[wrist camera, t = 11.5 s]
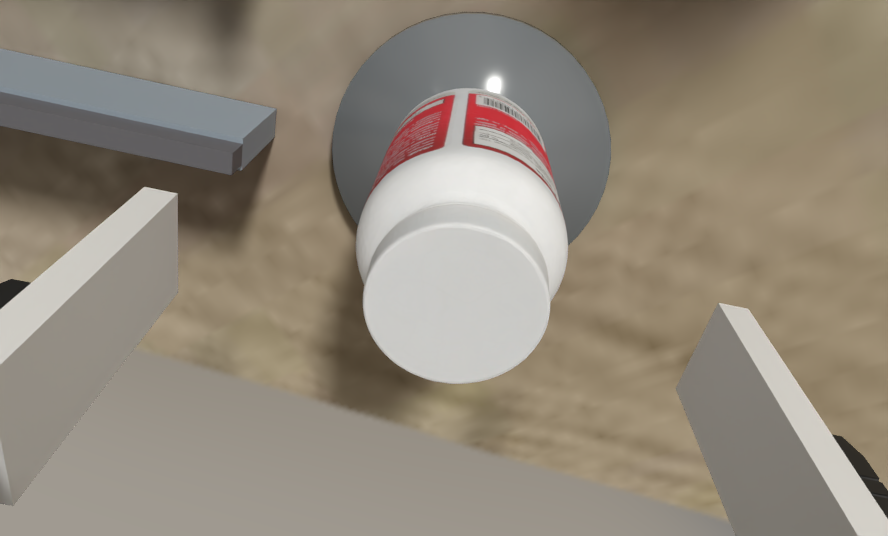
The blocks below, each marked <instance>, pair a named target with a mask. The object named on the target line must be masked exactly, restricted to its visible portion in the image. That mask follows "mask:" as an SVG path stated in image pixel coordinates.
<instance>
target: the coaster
mask: <svg viewBox="0 0 888 536" xmlns="http://www.w3.org/2000/svg"><path fill="white" fill-rule="evenodd" d="M459 88H476V89H483V90H488V91H491V92H494V93H497V94H499V95H502V96H504V97H506V98H507V99H509V100H511V101H512V102H514V103H515V104H517V105H518V106H519V107H520V108H521V109H523V110H524V111H525V112H526V113H527V115H528V116H529V117H530V118H531V120H532V121H533V122H534V124H535V125H536V127H537V129H538V131H539V133H540V135H541V137H542V140H543V143H544V146H545V149H546V153H547V156H548V160H549V164H550V167H551V171H552V175H553V179H554V183H555V186H556V190H557V194H558V198H559V202H560V205H561V209H562V213H563V216H564V220H565V224H566V231H567V239H568V245H569V244H570V243H571V242H572V241H573V240H574V239H575V238H576V237H577V236H578V235H579V234H580V233H581V231H582V230H583V229H584V227H585V226H586V225H587V224H588V222H589V220H590V219H591V217H592V215H593V214H594V212H595V210H596V209H597V207H598V204H599V202H600V200H601V197H602V195H603V192H604V189H605V186H606V182H607V178H608V175H609V167H610V160H611V138H610V131H609V124H608V119H607V116H606V113H605V109H604V106H603V103H602V101H601V98H600V96H599V94H598V92H597V90H596V87H595V86H594V84H593V83H592V81H591V79H590V78H589V76H588V75H587V73H586V72H585V70H584V68H583V67H582V66H581V64H580V63H579V62H578V61H577V60H576V59H575V57H574V56H573V55H572V54H571V53H570V52H569V51H568V50H567V49H566V48H565V47H563V46H562V45H561V44H560V43H559V42H558V41H557V40H555V39H554V38H552V37H551V36H549V35H548V34H546V33H545V32H543V31H542V30H540V29H538V28H536V27H534V26H532V25H529V24H527V23H525V22H523V21H520V20H517V19H514V18H510V17H507V16H504V15H498V14H492V13H485V12H460V13H452V14H445V15H441V16H437V17H434V18H430V19H426V20H424V21H421V22H419V23H417V24H414V25H412V26H410V27H408V28H406V29H404V30H403V31H401V32H399V33H398V34H396V35H395V36H393V37H391V38H390V39H389V40H388V41H387V42H385V43H384V44H383V45H382V46H380V47H379V48H378V49H377V50H376V51H375V52H374V53H373V54H372V55H371V56H370V58H369V59H368V60H367V61H366V62H365V63H364V64H363V65H362V66H361V68H360V69H359V71H358V72H357V73H356V75H355V76H354V78H353V79H352V81H351V82H350V84H349V86H348V88H347V90H346V92H345V94H344V96H343V98H342V101H341V104H340V107H339V110H338V112H337V115H336V121H335V126H334V131H333V145H332V154H333V167H334V172H335V176H336V181H337V185H338V188H339V191H340V194H341V196H342V199H343V201H344V203H345V205H346V207H347V209H348V211H349V213H350V215H351V217H352V218H353V220H354V221H355V222H356V224H357V225H358V224H359V220H360V217H361V214H362V211H363V208H364V205H365V203H366V201H367V198H368V196H369V193H370V191H371V189H372V186H373V184H374V182H375V179H376V177H377V174H378V172H379V169H380V167H381V165H382V162H383V160H384V157H385V155H386V152H387V150H388V148H389V145H390V143H391V141H392V138H393V136H394V134H395V132H396V131H397V129H398V127H399V126H400V124H401V122H402V121H403V120H404V118H405V117H406V116H407V115H408V114H409V113H410V111H411V110H413V109H414V108H415V107H416V106H417V105H418V104H420V103H421V102H423V101H424V100H426V99H428V98H430V97H432V96H434V95H436V94H438V93H441V92H444V91H448V90H452V89H459Z"/></svg>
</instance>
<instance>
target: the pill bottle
mask: <svg viewBox="0 0 888 536" xmlns="http://www.w3.org/2000/svg"><path fill="white" fill-rule="evenodd" d="M567 256H568V239H567V231H566V224H565V220H564V216H563V213H562V209H561V205H560V202H559V198H558V194H557V190H556V186H555V183H554V179H553V175H552V171H551V167H550V164H549V160H548V156H547V153H546V149H545V146H544V143H543V140H542V137H541V135H540V133H539V131H538V129H537V127H536V125H535V124H534V122H533V121H532V120H531V118H530V117H529V116H528V115H527V113H526V112H525V111H524V110H523V109H521V108H520V107H519V106H518V105H517V104H515V103H514V102H512V101H511V100H509V99H507V98H506V97H504V96H502V95H499V94H497V93H494V92H491V91H488V90H483V89H476V88H459V89H452V90H448V91H444V92H441V93H438V94H436V95H434V96H432V97H430V98H428V99H426V100H424V101H423V102H421V103H420V104H418V105H417V106H416V107H415V108H414V109H413V110H411V111H410V113H409V114H408V115H407V116H406V117H405V118H404V120H403V121H402V122H401V124H400V126H399V127H398V129H397V131H396V132H395V134H394V136H393V138H392V141H391V143H390V145H389V148H388V150H387V152H386V155H385V157H384V160H383V162H382V165H381V167H380V169H379V172H378V174H377V177H376V179H375V182H374V184H373V186H372V189H371V191H370V193H369V196H368V198H367V201H366V203H365V205H364V208H363V211H362V214H361V217H360V220H359V224H358V228H357V235H356V257H357V263H358V268H359V272H360V275H361V278H362V281H363V283H364V290H363V312H364V317H365V321H366V324H367V327H368V330H369V332H370V334H371V336H372V338H373V339H374V341H375V342H376V344H377V345H378V347H379V348H380V349H381V350H382V352H383V353H384V354H385V355H386V356H387V357H388V358H389V359H391V360H392V361H393V362H394V363H395V364H397V365H398V366H400V367H401V368H403V369H405V370H406V371H408V372H410V373H412V374H414V375H417V376H419V377H422V378H425V379H427V380H431V381H435V382H443V383H450V384H463V383H474V382H479V381H484V380H487V379H491V378H494V377H496V376H499V375H501V374H503V373H505V372H507V371H509V370H511V369H512V368H514V367H515V366H517V365H518V364H519V363H521V362H522V361H523V360H525V359H526V358H527V356H528V355H529V354H530V353H531V352H532V351H533V350H534V349H535V347H536V346H537V344H538V343H539V342H540V340H541V338H542V336H543V334H544V332H545V330H546V327H547V324H548V319H549V314H550V302H551V300H552V299H553V297H554V296H555V294H556V292H557V290H558V289H559V286H560V284H561V281H562V279H563V276H564V272H565V268H566V264H567Z"/></svg>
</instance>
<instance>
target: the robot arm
mask: <svg viewBox="0 0 888 536" xmlns="http://www.w3.org/2000/svg"><path fill="white" fill-rule="evenodd" d="M177 293H178V193H173V192H168V191H163V190H158V189H153V188H148V187H144V188H142V189H141V190H140V191H139V192H138V193H137V194H135V195H134V196H133V197H132V198H131V199H129V200H128V201H127V202H126V203H125V204H124V205H122V206H121V207H120V208H119V209H118V210H117V211H115V212H114V213H113V214H112V215H111V216H109V217H108V218H107V219H106V220H105V221H104V222H102V223H101V224H100V225H99V226H98V227H97V228H95V229H94V230H93V231H92V232H91V233H89V234H88V235H87V236H86V237H85V238H84V239H82V240H81V241H80V242H79V243H78V244H77V245H75V246H74V247H73V248H72V249H71V250H69V251H68V252H67V253H66V254H65V255H64V256H62V257H61V258H60V259H59V260H58V261H57V262H55V263H54V264H53V265H52V266H51V267H49V268H48V269H47V270H46V271H45V272H44V273H42V274H41V275H40V276H39V277H38V278H37V279H35V280H34V281H33V282H32V283H29V282H24V281H19V280H14V279H10V280H8V281H5V282H3V283H0V504H6V505H12V506H13V505H14V504H15V503H16V502H17V500H18V499H19V498H20V496H21V495H22V494H23V493H24V491H25V490H26V489H27V487H28V486H29V485H30V484H31V482H32V481H33V479H34V478H35V477H36V476H37V474H38V473H39V472H40V471H41V469H42V468H43V467H44V465H45V464H46V463H47V462H48V460H49V459H50V458H51V456H52V455H53V454H54V452H55V451H56V450H57V449H58V447H59V446H60V445H61V443H62V442H63V441H64V439H65V438H66V437H67V435H68V434H69V433H70V431H71V430H72V429H73V428H74V426H75V425H76V424H77V423H78V421H79V420H80V419H81V417H82V416H83V415H84V413H85V412H86V411H87V410H88V408H89V407H90V406H91V404H92V403H93V402H94V401H95V399H96V398H97V397H98V395H99V394H100V393H101V391H102V390H103V389H104V388H105V386H106V385H107V384H108V382H109V381H110V380H111V379H112V377H113V376H114V374H115V373H116V372H117V371H118V369H119V368H120V367H121V366H122V364H123V363H124V362H125V360H126V359H127V358H128V356H129V355H130V354H131V353H132V351H133V350H134V349H135V347H136V346H137V345H138V344H139V342H140V341H141V340H142V338H143V337H144V336H145V335H146V333H147V332H148V331H149V329H150V328H151V327H152V325H153V324H154V323H155V322H156V320H157V319H158V318H159V316H160V315H161V314H162V312H163V311H164V310H165V309H166V307H167V306H168V305H169V303H170V302H171V301H172V300H173V298H174V297H175V296H176V294H177ZM676 390H677V393H678V395H679V398H680V400H681V403H682V405H683V407H684V410H685V412H686V415H687V417H688V420H689V422H690V425H691V427H692V430H693V432H694V435H695V437H696V439H697V442H698V444H699V447H700V449H701V452H702V454H703V457H704V459H705V462H706V464H707V467H708V469H709V471H710V474H711V476H712V479H713V481H714V484H715V486H716V489H717V491H718V494H719V496H720V499H721V501H722V504H723V506H724V508H725V511H726V513H727V516H728V518H729V521H730V523H731V526H732V528H733V531H734V533H735V536H888V490H887V489H886V488H885V486H884V485H883V483H881V482H879V478H878V476H877V475H876V473H875V472H874V470H873V469H872V467H871V466H870V465H869V463H868V462H867V460H866V459H865V457H864V456H863V455H861V454H860V453H859V452H858V451H857V450H856V449H855V448H854V447H853V446H852V445H851V444H849V443H848V442H847V441H846V440H845V439H844V438H843V437H842V436H836V435H832V434H831V433H830V431H829V430H828V428H827V427H826V425H825V424H824V422H823V421H822V419H821V418H820V416H819V415H818V413H817V412H816V410H815V409H814V407H813V406H812V404H811V403H810V401H809V400H808V398H807V397H806V395H805V394H804V392H803V391H802V389H801V388H800V386H799V385H798V383H797V382H796V380H795V379H794V377H793V376H792V374H791V373H790V371H789V370H788V368H787V366H786V365H785V363H784V362H783V360H782V359H781V357H780V356H779V354H778V353H777V351H776V350H775V348H774V347H773V345H772V344H771V342H770V341H769V339H768V338H767V336H766V335H765V333H764V332H763V330H762V329H761V327H760V326H759V324H758V323H757V321H756V320H755V318H754V317H753V315H752V314H751V312H750V311H749V309H746V308H741V307H737V306H732V305H727V304H722V303H718V304H717V306H716V308H715V310H714V312H713V314H712V317H711V319H710V321H709V323H708V325H707V327H706V329H705V331H704V333H703V335H702V337H701V339H700V341H699V343H698V345H697V347H696V349H695V351H694V353H693V355H692V357H691V359H690V361H689V363H688V365H687V367H686V369H685V371H684V373H683V375H682V377H681V379H680V381H679V383H678V385H677V387H676Z"/></svg>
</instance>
